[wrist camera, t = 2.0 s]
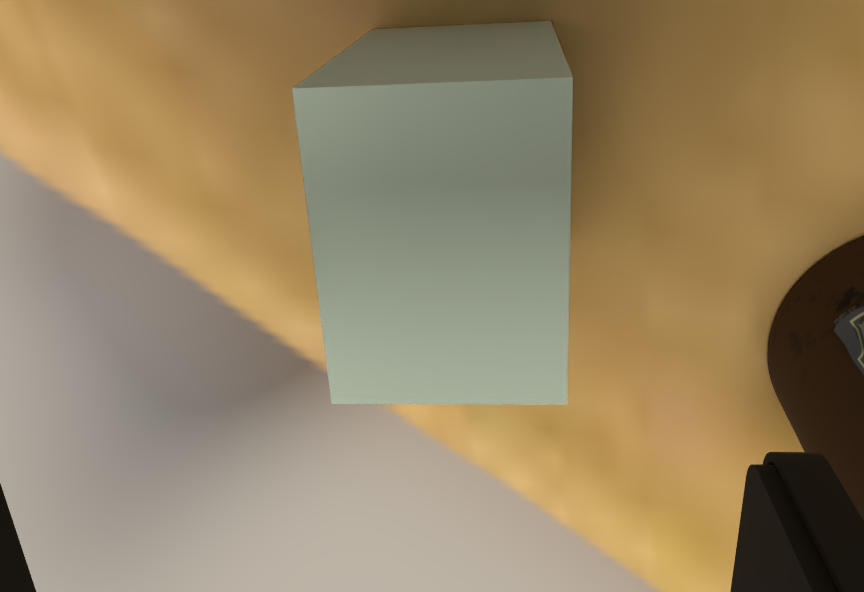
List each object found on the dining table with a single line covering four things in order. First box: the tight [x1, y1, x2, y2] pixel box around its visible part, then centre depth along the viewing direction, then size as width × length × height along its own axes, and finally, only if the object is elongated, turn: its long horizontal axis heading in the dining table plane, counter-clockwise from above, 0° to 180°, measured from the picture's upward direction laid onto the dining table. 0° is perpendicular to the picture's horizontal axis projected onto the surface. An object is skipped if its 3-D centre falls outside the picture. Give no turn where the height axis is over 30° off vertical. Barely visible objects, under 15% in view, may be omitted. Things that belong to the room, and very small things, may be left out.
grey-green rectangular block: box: [292, 21, 573, 405], centre depth 24 cm, size 6×9×11 cm
